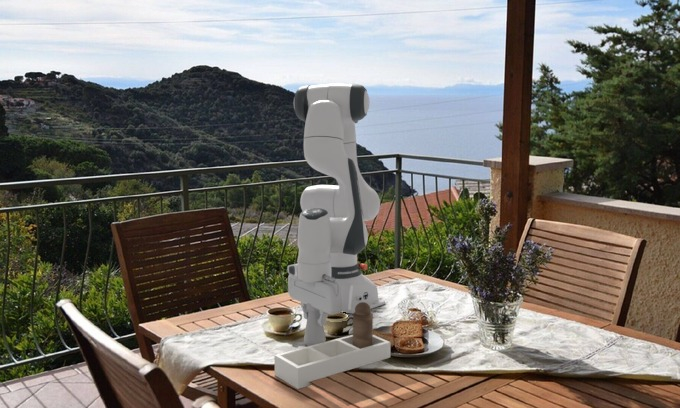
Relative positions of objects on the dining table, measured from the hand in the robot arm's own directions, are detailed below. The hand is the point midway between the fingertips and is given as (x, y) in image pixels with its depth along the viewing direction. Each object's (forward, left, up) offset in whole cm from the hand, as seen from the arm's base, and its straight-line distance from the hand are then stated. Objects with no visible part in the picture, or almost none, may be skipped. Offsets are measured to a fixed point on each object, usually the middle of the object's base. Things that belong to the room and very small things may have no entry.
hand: (314, 321), depth 178 cm
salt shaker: (0, 0, -7) cm, 7 cm away
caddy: (+4, +14, -7) cm, 16 cm away
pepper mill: (-5, +14, -6) cm, 16 cm away
